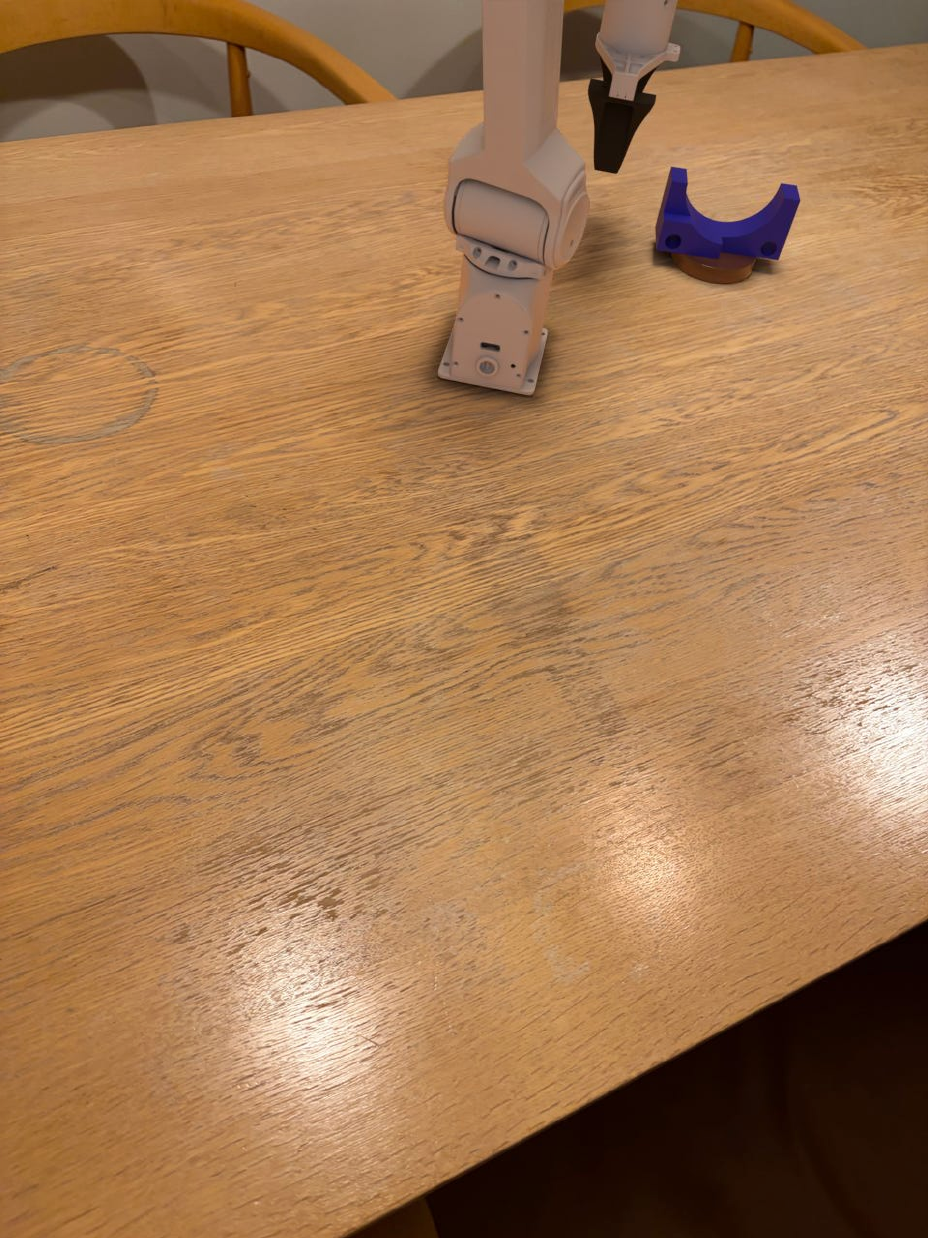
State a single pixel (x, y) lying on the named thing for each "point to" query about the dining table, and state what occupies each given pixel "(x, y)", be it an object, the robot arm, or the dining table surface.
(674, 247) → the blue clamp bracket
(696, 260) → the walnut chip
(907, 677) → the dining table surface
